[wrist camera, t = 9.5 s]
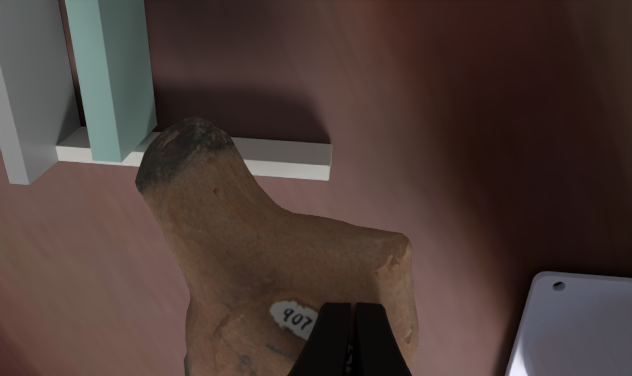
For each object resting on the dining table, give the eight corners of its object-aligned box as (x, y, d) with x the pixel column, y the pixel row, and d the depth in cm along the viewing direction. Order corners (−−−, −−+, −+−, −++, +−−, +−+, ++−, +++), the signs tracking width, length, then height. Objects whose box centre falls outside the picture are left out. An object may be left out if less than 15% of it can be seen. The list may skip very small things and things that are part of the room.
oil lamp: (431, 125, 15) (160, 107, 16) (458, 146, 11) (95, 120, 12) (401, 399, 17) (161, 375, 18) (415, 496, 13) (106, 463, 14)
